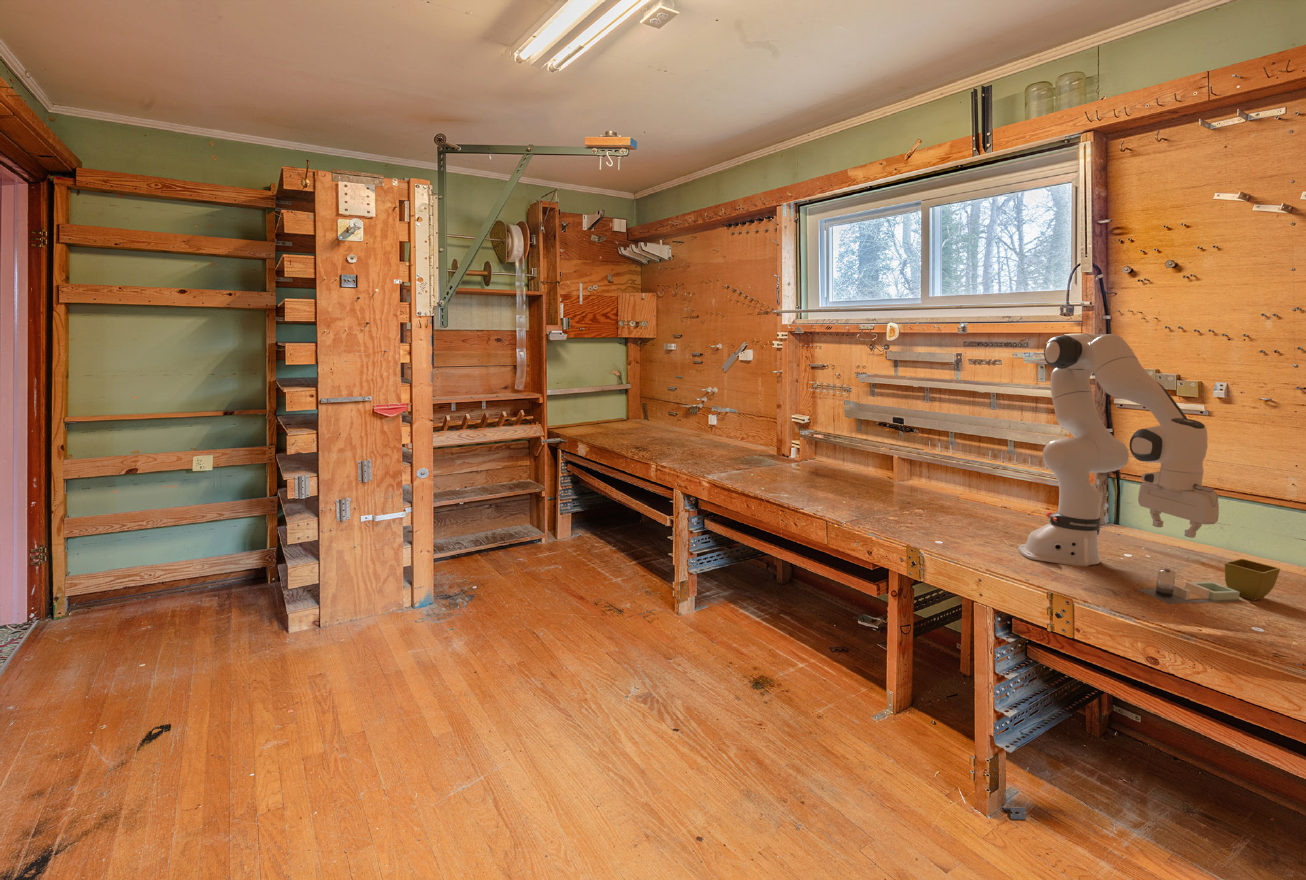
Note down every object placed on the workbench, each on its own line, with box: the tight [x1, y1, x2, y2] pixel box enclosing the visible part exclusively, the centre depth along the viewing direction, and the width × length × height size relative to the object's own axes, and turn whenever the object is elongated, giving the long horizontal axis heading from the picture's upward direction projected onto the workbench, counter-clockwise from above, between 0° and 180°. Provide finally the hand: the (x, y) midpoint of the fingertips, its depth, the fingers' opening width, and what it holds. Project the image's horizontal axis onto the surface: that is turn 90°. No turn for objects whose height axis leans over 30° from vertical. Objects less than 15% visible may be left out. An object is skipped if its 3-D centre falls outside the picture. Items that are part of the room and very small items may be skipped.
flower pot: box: [1224, 558, 1281, 601], centre depth 177 cm, size 9×9×9 cm
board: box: [1136, 588, 1243, 605], centre depth 175 cm, size 22×10×1 cm, turn 97°
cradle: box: [1173, 581, 1210, 600], centre depth 175 cm, size 7×6×2 cm
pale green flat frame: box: [1190, 581, 1240, 600], centre depth 176 cm, size 8×8×2 cm
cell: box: [1155, 568, 1177, 599], centre depth 174 cm, size 4×4×8 cm
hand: (1173, 531), depth 171 cm, fingers open, 8 cm apart
